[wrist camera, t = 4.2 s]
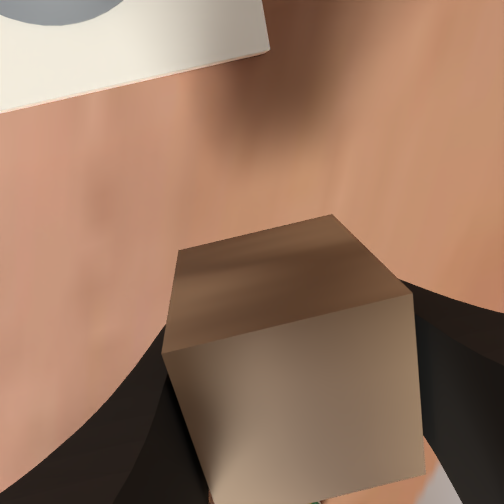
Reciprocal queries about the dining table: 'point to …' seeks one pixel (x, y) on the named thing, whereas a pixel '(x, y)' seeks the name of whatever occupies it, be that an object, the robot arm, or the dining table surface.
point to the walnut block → (294, 365)
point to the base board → (117, 43)
